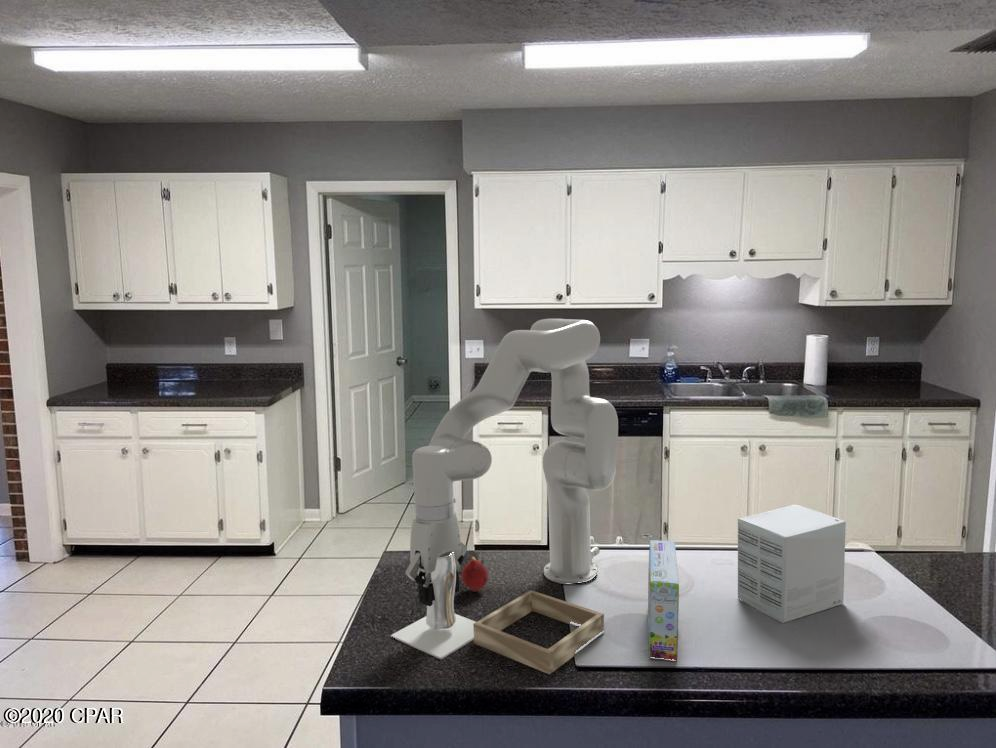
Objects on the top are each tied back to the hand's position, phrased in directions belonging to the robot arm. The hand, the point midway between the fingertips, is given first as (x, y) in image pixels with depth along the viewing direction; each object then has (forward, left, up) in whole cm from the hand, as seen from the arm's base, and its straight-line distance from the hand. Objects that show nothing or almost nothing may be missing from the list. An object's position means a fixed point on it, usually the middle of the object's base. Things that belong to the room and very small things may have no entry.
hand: (439, 596), depth 141 cm
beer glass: (0, 0, -6) cm, 6 cm away
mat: (0, 0, -8) cm, 8 cm away
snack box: (-26, +35, -8) cm, 44 cm away
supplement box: (-53, +50, -8) cm, 73 cm away
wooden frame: (-10, +17, -8) cm, 21 cm away
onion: (-18, -7, -8) cm, 21 cm away
